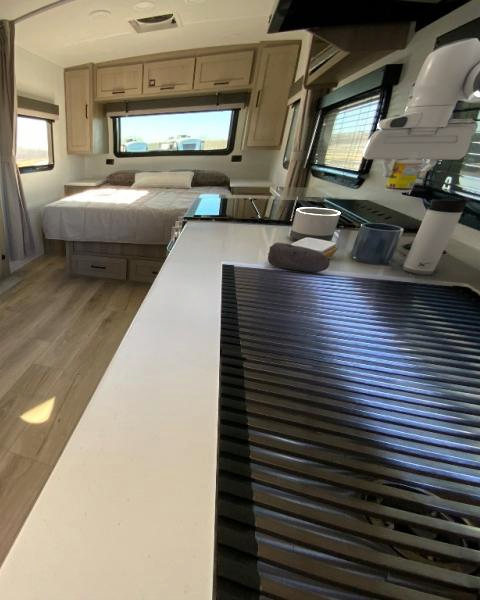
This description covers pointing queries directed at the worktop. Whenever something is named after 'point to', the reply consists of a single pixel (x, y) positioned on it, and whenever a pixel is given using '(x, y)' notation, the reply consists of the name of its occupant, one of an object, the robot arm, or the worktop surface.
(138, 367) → the worktop surface
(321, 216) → the planter
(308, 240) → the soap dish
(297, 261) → the perforated stone tool
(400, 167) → the supplement bottle
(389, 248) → the blue cylindrical cup
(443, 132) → the robot arm
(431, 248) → the travel mug
